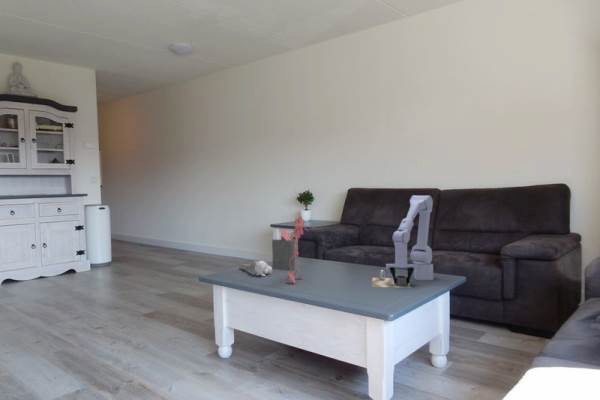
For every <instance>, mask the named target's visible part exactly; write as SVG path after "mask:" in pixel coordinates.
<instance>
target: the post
mask: <svg viewBox="0 0 600 400" xmlns="http://www.w3.org/2000/svg"><path fill="white" fill-rule="evenodd" d="M379 278H380V280H381V281H384V280H385V278H386V271H385V270H384V269H380V271H379Z"/></svg>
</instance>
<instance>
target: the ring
mask: <svg viewBox="0 0 600 400" xmlns="http://www.w3.org/2000/svg"><path fill="white" fill-rule="evenodd" d="M395 280H396V283H395V285H396V286H408V275H395Z"/></svg>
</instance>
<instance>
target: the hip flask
mask: <svg viewBox="0 0 600 400" xmlns="http://www.w3.org/2000/svg"><path fill="white" fill-rule="evenodd" d="M280 238H281V239H278V238H277V239H275V238H274V239H272V240H271V242H272V243H271V244H272V246H271V247H272V249H271V250H272V252H271V253H272V269H274V268H278V270H285V269H286V271H290V267H291V272H292V271H296V256H294V254H293V253H294V251H296V242H295V241H294V240H292V239H288V241H285V239H284V238H283V237H282V235H281V236H280ZM293 256H294V257H293ZM292 257H293V258H292ZM291 258H292V259H291ZM290 259H291V260H290ZM289 260H290V263H289Z"/></svg>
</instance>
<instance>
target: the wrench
mask: <svg viewBox="0 0 600 400" xmlns="http://www.w3.org/2000/svg"><path fill="white" fill-rule="evenodd" d="M257 262H258V261H257V260H255V261H254V260H253V261H252V263H251V264H248V263H247V264H246V263H239V265H238V267H239V269H240V270H249V271H250V272H251V274H252V276H257V273H258V272H257V271H255V266H256V267H258V264H257Z"/></svg>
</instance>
